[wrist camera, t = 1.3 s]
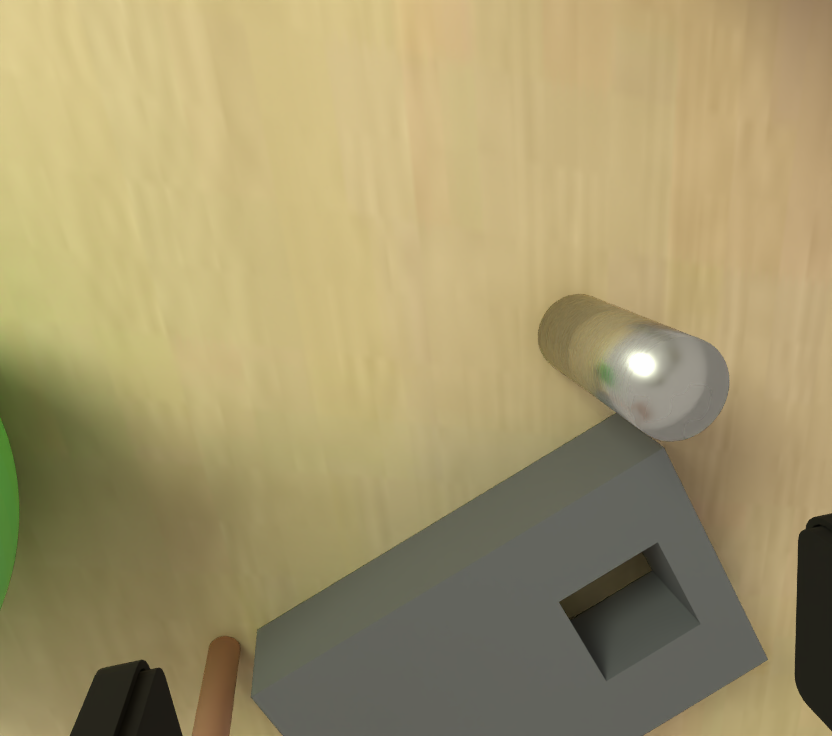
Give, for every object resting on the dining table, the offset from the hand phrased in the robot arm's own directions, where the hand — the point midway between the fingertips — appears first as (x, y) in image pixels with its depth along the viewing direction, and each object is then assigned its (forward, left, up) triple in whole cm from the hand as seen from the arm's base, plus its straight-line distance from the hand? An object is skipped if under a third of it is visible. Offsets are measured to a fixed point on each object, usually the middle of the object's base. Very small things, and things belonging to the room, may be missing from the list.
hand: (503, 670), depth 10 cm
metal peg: (-9, +6, -25) cm, 27 cm away
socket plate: (+2, +18, -25) cm, 30 cm away
